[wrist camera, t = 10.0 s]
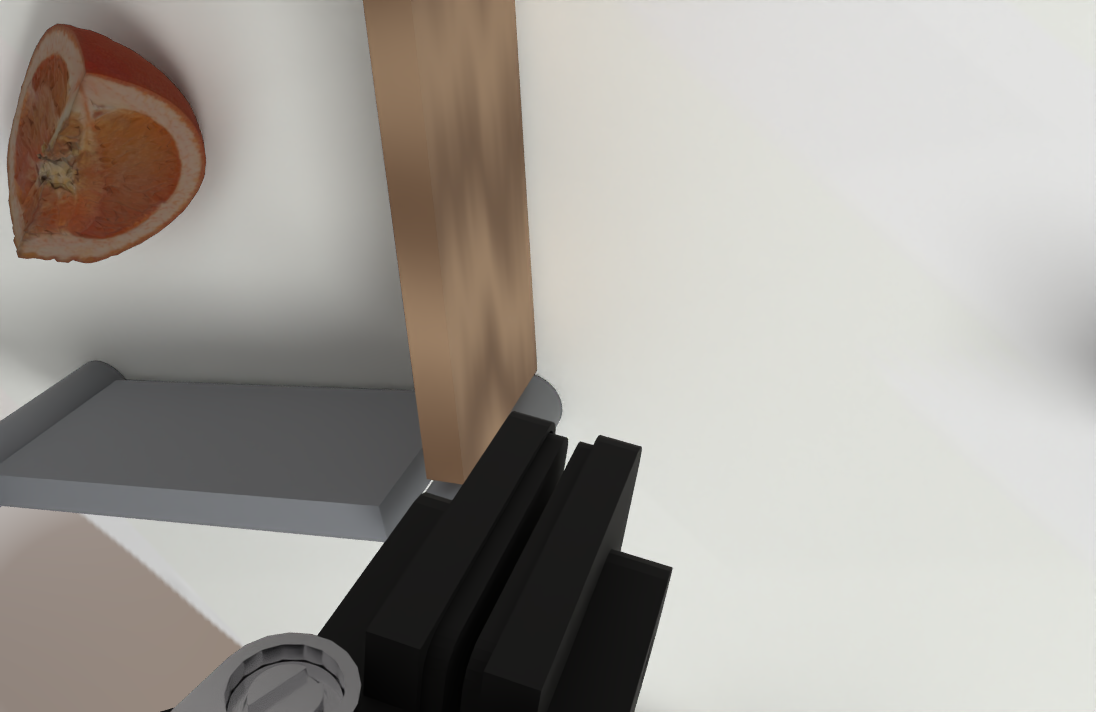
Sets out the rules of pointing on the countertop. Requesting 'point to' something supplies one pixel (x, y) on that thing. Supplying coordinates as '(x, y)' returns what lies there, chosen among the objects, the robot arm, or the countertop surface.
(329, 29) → the countertop surface
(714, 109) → the countertop surface
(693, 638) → the countertop surface
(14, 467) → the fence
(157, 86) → the fruit slice
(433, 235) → the gate
